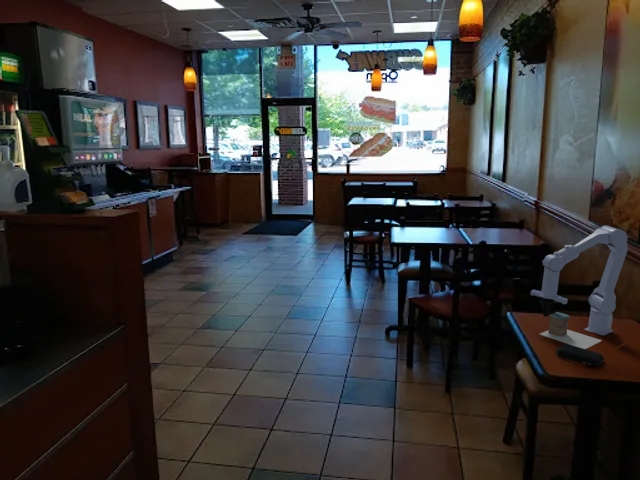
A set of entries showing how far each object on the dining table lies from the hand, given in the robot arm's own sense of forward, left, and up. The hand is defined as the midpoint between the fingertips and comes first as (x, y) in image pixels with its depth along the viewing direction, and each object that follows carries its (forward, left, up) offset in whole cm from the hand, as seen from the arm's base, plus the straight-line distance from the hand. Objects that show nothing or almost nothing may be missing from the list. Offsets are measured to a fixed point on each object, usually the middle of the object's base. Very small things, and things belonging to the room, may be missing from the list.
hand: (546, 315), depth 209 cm
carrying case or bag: (+16, +21, -7) cm, 27 cm away
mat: (0, +11, -6) cm, 12 cm away
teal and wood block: (0, +6, -6) cm, 8 cm away
